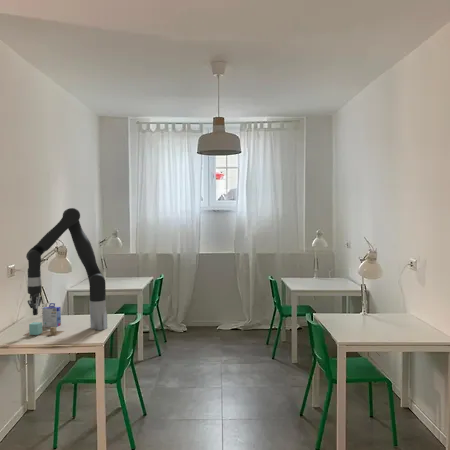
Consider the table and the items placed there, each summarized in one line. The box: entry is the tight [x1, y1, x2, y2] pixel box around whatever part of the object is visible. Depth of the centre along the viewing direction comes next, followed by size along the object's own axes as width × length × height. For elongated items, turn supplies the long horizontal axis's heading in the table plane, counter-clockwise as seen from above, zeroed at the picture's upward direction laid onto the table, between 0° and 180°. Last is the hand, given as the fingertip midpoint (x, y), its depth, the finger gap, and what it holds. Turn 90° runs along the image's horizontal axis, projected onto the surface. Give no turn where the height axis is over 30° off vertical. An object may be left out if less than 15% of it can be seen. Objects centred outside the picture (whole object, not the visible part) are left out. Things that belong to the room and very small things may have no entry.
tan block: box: [49, 327, 58, 335], centre depth 294 cm, size 3×3×4 cm
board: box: [22, 330, 65, 337], centre depth 298 cm, size 20×11×1 cm, turn 83°
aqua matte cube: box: [28, 321, 43, 335], centre depth 295 cm, size 5×5×6 cm
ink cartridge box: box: [41, 302, 62, 328], centre depth 316 cm, size 10×6×14 cm, turn 81°
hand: (35, 314), depth 294 cm, fingers closed
